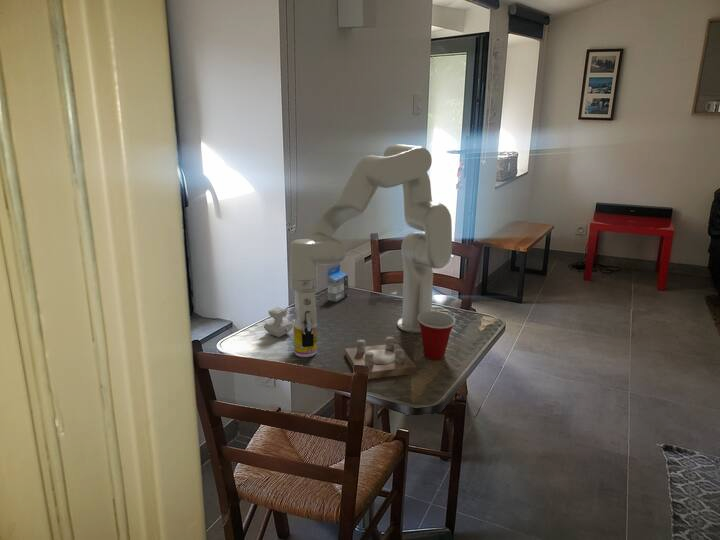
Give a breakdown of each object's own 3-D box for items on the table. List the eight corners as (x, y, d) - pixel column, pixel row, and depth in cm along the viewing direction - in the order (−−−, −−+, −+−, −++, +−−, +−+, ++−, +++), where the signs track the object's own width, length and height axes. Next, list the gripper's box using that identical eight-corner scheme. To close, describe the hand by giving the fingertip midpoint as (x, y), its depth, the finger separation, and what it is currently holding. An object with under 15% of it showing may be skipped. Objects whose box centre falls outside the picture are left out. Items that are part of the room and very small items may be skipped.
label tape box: (336, 302, 201) (336, 270, 197) (327, 300, 203) (326, 269, 199) (348, 295, 208) (348, 265, 205) (339, 294, 210) (339, 263, 207)
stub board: (397, 349, 160) (397, 332, 159) (416, 373, 146) (417, 354, 144) (345, 354, 156) (345, 337, 155) (359, 380, 142) (359, 361, 140)
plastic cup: (427, 367, 149) (429, 326, 146) (409, 351, 159) (410, 313, 156) (460, 360, 153) (463, 321, 150) (440, 346, 163) (442, 309, 160)
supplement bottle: (307, 360, 153) (306, 317, 149) (289, 354, 156) (288, 313, 153) (321, 351, 158) (321, 310, 155) (303, 346, 162) (302, 306, 158)
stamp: (296, 334, 171) (295, 309, 168) (281, 341, 166) (280, 315, 163) (276, 328, 176) (275, 303, 174) (261, 334, 171) (260, 309, 169)
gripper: (323, 291, 144) (323, 350, 149) (311, 273, 161) (312, 327, 165) (295, 293, 142) (296, 353, 147) (286, 275, 159) (288, 330, 163)
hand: (305, 339), depth 156 cm, fingers open, 8 cm apart
